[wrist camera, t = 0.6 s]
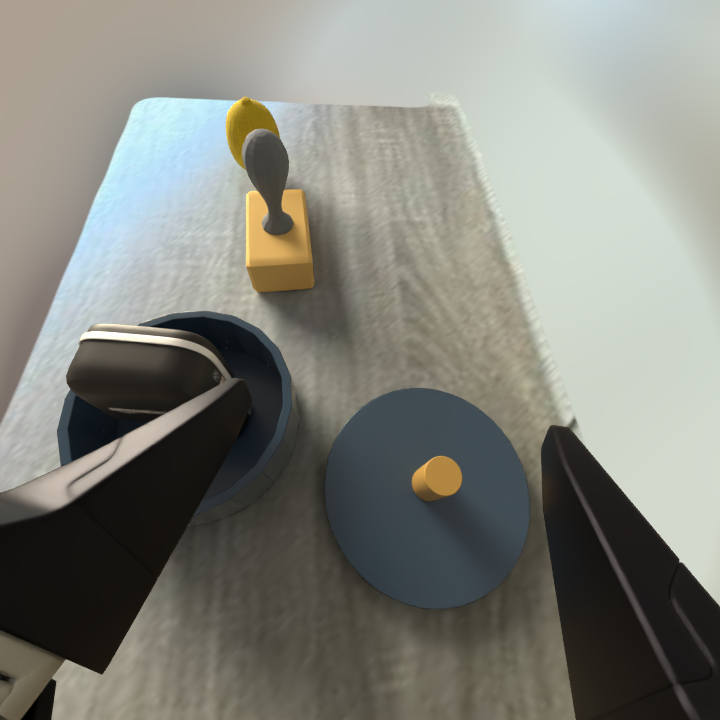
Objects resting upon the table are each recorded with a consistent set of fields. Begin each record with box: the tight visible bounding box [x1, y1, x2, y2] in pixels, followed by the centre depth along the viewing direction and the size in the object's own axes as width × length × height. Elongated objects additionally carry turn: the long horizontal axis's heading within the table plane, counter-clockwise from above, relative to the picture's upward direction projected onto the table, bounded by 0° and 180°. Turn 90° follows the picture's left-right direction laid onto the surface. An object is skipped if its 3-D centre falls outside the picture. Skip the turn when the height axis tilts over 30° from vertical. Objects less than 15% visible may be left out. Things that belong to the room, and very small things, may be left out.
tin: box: [57, 311, 299, 525], centre depth 25 cm, size 14×14×5 cm
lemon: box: [226, 97, 280, 170], centre depth 37 cm, size 6×6×8 cm
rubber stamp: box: [242, 129, 314, 293], centre depth 30 cm, size 10×6×12 cm, turn 9°
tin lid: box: [324, 388, 530, 609], centre depth 24 cm, size 15×15×5 cm
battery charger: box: [66, 324, 251, 438], centre depth 22 cm, size 7×4×11 cm, turn 86°
